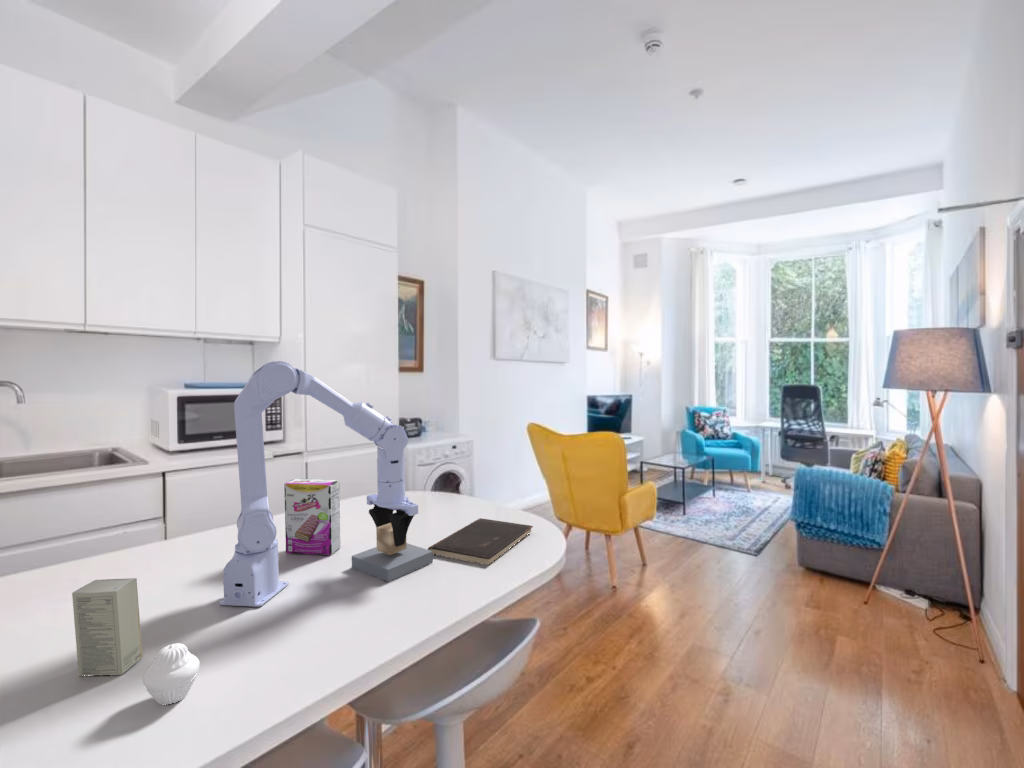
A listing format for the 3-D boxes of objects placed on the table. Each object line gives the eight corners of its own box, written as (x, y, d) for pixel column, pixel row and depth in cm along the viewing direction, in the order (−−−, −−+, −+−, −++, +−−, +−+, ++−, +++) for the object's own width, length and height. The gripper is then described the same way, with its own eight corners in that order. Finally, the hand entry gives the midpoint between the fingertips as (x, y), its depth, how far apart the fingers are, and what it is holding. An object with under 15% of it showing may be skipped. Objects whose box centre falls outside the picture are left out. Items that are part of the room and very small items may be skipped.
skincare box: (143, 658, 74) (140, 577, 74) (121, 676, 70) (117, 591, 69) (99, 659, 74) (96, 578, 73) (74, 678, 70) (70, 592, 69)
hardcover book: (532, 534, 127) (532, 525, 127) (489, 568, 107) (489, 557, 107) (478, 526, 134) (478, 517, 134) (427, 556, 114) (427, 546, 114)
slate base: (432, 562, 109) (432, 551, 109) (388, 582, 99) (388, 569, 99) (396, 550, 116) (396, 539, 116) (351, 567, 106) (351, 555, 106)
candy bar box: (284, 554, 114) (282, 483, 113) (296, 546, 119) (294, 478, 118) (331, 556, 113) (330, 484, 112) (341, 548, 118) (340, 478, 117)
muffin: (211, 686, 68) (210, 635, 67) (170, 717, 62) (168, 662, 61) (175, 679, 69) (173, 629, 69) (131, 709, 63) (129, 654, 63)
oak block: (406, 548, 108) (406, 525, 108) (390, 555, 104) (389, 531, 104) (393, 544, 110) (392, 521, 110) (376, 550, 107) (376, 527, 107)
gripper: (428, 480, 106) (429, 544, 106) (384, 471, 114) (385, 530, 115) (402, 487, 100) (403, 554, 101) (358, 477, 109) (359, 539, 109)
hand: (392, 542), depth 107 cm, fingers closed on oak block, 4 cm apart
